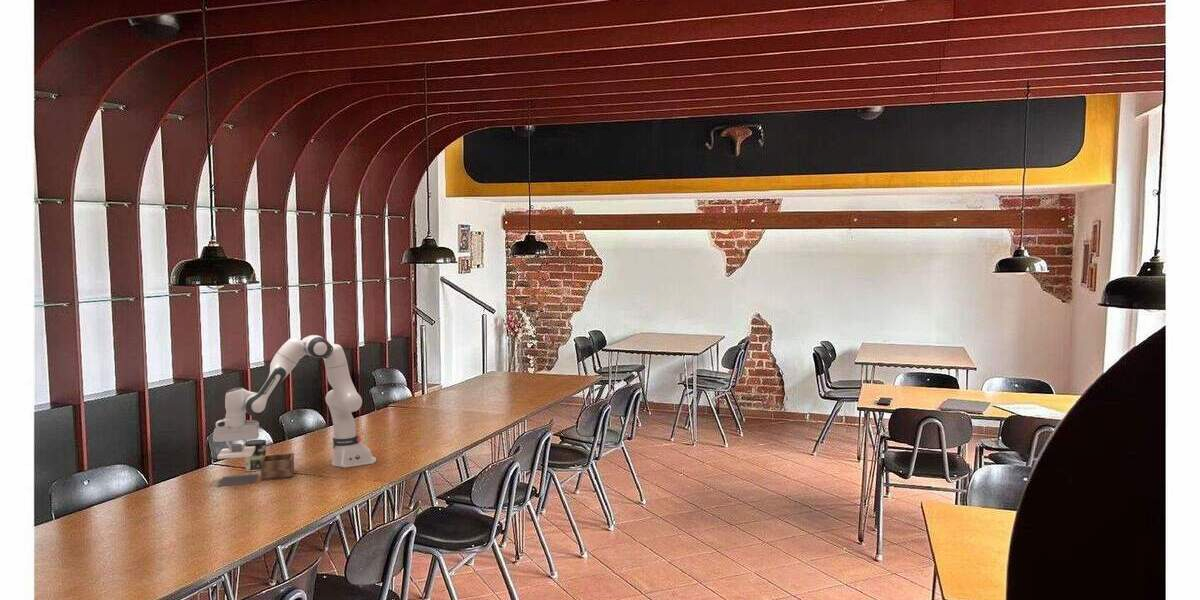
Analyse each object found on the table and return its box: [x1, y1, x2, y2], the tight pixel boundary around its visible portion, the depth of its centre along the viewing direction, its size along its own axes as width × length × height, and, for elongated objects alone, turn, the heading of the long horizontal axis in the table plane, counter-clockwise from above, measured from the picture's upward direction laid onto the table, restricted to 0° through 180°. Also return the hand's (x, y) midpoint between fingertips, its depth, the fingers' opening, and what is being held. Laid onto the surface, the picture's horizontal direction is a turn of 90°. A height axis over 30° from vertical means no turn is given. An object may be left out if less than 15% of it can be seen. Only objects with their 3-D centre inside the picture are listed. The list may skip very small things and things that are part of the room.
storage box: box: [260, 452, 295, 481], centre depth 385 cm, size 14×14×9 cm
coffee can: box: [244, 439, 267, 472], centre depth 399 cm, size 10×10×14 cm
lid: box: [217, 443, 255, 460], centre depth 377 cm, size 15×15×4 cm
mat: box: [217, 473, 259, 487], centre depth 378 cm, size 16×16×1 cm
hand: (236, 449), depth 377 cm, fingers closed on lid, 4 cm apart
